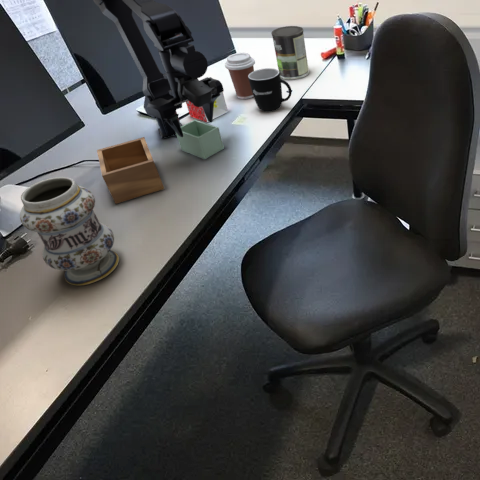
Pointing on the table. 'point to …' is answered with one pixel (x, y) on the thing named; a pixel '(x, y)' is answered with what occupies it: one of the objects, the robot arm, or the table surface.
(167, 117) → the robot arm
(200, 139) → the bin
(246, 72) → the coffee cup
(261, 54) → the table surface
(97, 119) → the table surface
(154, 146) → the table surface
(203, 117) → the red and white cube
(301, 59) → the coffee can
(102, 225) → the apothecary jar
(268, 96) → the mug
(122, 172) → the crate
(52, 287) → the table surface
